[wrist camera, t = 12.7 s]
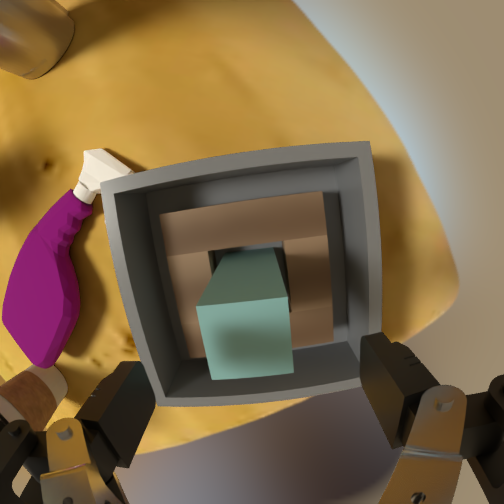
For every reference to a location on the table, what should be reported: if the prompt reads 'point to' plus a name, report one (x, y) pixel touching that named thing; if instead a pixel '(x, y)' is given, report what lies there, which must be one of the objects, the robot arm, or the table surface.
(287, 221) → the plate
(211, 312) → the peg
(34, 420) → the coffee cup
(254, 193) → the crate
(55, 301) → the spray bottle
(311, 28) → the table surface
